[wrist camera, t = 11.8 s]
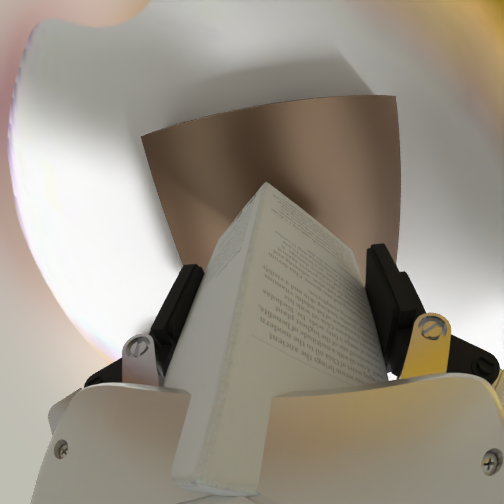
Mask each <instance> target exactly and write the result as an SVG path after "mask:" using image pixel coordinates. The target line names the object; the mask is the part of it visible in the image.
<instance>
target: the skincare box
mask: <svg viewBox="0 0 504 504" xmlns="http://www.w3.org/2000/svg"><path fill="white" fill-rule="evenodd" d="M386 381H389V380H388V376H387V371H386V366H385V361H384V357H383V353H382V349H381V344H380V341H379V337H378V333H377V329H376V325H375V322H374V318H373V314H372V311H371V307H370V304H369V300H368V297H367V294H366V290H365V287H364V284H363V280H362V277H361V274H360V271H359V268H358V265H357V262H356V259H355V256H354V253H353V251H352V249H350V248H349V247H348V246H347V245H346V244H344V243H343V242H342V241H341V240H340V239H338V238H337V237H336V236H335V235H334V234H333V233H331V232H330V231H329V230H328V229H327V228H325V227H324V226H323V225H322V224H320V223H319V222H318V221H317V220H315V219H314V218H313V217H312V216H310V215H309V214H308V213H307V212H305V211H304V210H303V209H302V208H300V207H299V206H298V205H296V204H295V203H294V202H292V201H291V200H290V199H289V198H287V197H286V196H285V195H283V194H282V193H281V192H280V191H278V190H277V189H276V188H274V187H273V186H272V185H270V184H269V183H267V182H265V183H264V184H263V185H262V186H261V188H260V189H259V190H258V191H257V193H256V194H255V195H254V196H253V197H252V199H251V200H250V201H249V202H248V203H247V204H246V206H245V207H244V208H243V209H242V211H241V212H240V213H239V214H238V216H237V217H236V218H235V220H234V221H233V222H232V224H231V225H230V226H229V227H228V229H227V230H226V231H225V232H224V234H223V235H222V236H221V237H220V239H219V240H218V242H217V245H216V247H215V250H214V252H213V254H212V257H211V259H210V261H209V264H208V266H207V268H206V271H205V273H204V276H203V278H202V281H201V283H200V286H199V288H198V291H197V293H196V296H195V299H194V301H193V304H192V306H191V309H190V311H189V314H188V317H187V319H186V322H185V324H184V327H183V329H182V332H181V335H180V338H179V340H178V343H177V346H176V348H175V351H174V354H173V357H172V360H171V362H170V365H169V367H168V370H167V373H166V375H165V378H164V383H163V387H168V388H178V389H184V390H186V391H187V392H189V393H190V394H191V395H192V396H191V400H190V404H189V407H188V411H187V414H186V418H185V422H184V425H183V429H182V433H181V436H180V440H179V444H178V447H177V451H176V455H175V458H174V463H173V467H172V472H171V479H172V480H173V482H174V484H175V485H176V486H178V487H180V488H183V489H187V490H192V491H197V492H203V493H209V494H214V495H220V496H230V497H237V496H244V497H253V496H259V495H261V494H260V493H258V492H257V491H255V490H256V489H257V488H258V483H259V477H260V471H261V465H262V458H263V452H264V445H265V439H266V433H267V427H268V421H269V415H270V407H271V400H272V397H275V396H279V395H282V394H286V393H290V392H293V391H308V390H322V389H333V388H342V387H351V386H359V385H366V384H373V383H380V382H386Z"/></svg>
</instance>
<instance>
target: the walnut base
mask: <svg viewBox="0 0 504 504" xmlns="http://www.w3.org/2000/svg"><path fill="white" fill-rule="evenodd" d="M141 139H142V142H143V146H144V149H145V153H146V156H147V160H148V163H149V166H150V170H151V173H152V176H153V179H154V183H155V186H156V189H157V192H158V195H159V198H160V201H161V204H162V207H163V210H164V213H165V216H166V219H167V222H168V225H169V227H170V230H171V233H172V236H173V239H174V241H175V244H176V247H177V250H178V252H179V255H180V258H181V260H182V263H183V266H184V265H188V264H197V265H198V266H199V267H200V266H201V267H202V269H203V271H204V273H205V271H206V268H207V266H208V264H209V261H210V259H211V257H212V254H213V252H214V250H215V247H216V245H217V242H218V240H219V239H220V237H221V236H222V235H223V234H224V232H225V231H226V230H227V229H228V227H229V226H230V225H231V224H232V222H233V221H234V220H235V218H236V217H237V216H238V214H239V213H240V212H241V211H242V209H243V208H244V207H245V206H246V204H247V203H248V202H249V201H250V200H251V199H252V197H253V196H254V195H255V194H256V193H257V191H258V190H259V189H260V188H261V186H262V185H263V184H264V183H265V182H267V183H269V184H270V185H272V186H273V187H274V188H276V189H277V190H278V191H280V192H281V193H282V194H283V195H285V196H286V197H287V198H289V199H290V200H291V201H292V202H294V203H295V204H296V205H298V206H299V207H300V208H302V209H303V210H304V211H305V212H307V213H308V214H309V215H310V216H312V217H313V218H314V219H315V220H317V221H318V222H319V223H320V224H322V225H323V226H324V227H325V228H327V229H328V230H329V231H330V232H331V233H333V234H334V235H335V236H336V237H337V238H338V239H340V240H341V241H342V242H343V243H344V244H346V245H347V246H348V247H349V248H350V249H352V251H353V253H354V256H355V259H356V262H357V265H358V268H359V271H360V274H361V277H362V280H363V284H364V287H365V279H366V252H367V248H371V245H372V244H380V243H384V244H385V245H386V247H387V249H388V251H389V253H390V255H391V256H392V258H393V260H394V262H395V264H396V259H397V249H398V237H399V222H400V197H401V165H400V140H399V126H398V115H397V105H396V97H395V96H387V95H355V96H335V97H322V98H311V99H302V100H293V101H285V102H278V103H272V104H265V105H259V106H254V107H248V108H243V109H238V110H233V111H228V112H224V113H219V114H215V115H211V116H207V117H203V118H199V119H195V120H191V121H187V122H184V123H180V124H177V125H173V126H170V127H167V128H164V129H161V130H158V131H155V132H152V133H149V134H147V135H144V136H141Z"/></svg>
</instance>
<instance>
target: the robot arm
mask: <svg viewBox="0 0 504 504" xmlns="http://www.w3.org/2000/svg"><path fill="white" fill-rule="evenodd" d="M203 276H204V271H203V269H202V267H201V266H200V267H199V266H198V265H197V264H188V265H184V266H183V268H182V269H181V271H180V273H179V275H178V277H177V279H176V281H175V282H174V284H173V286H172V288H171V290H170V292H169V294H168V296H167V298H166V299H165V301H164V303H163V305H162V307H161V309H160V311H159V313H158V315H157V317H156V319H155V321H154V323H153V325H152V327H151V331H150V333H149V335H148V334H138V335H135V336H133V337H132V338H130V339H129V340H128V341H127V342H126V343H125V345H124V347H123V351H122V358H120V359H119V360H117V361H115V362H114V363H112V364H110V365H108V366H107V367H105V368H103V369H101V370H100V371H98V372H96V373H95V374H93V375H92V376H90V377H89V378H88V379H87V381H86V383H85V386H84V388H83V389H82V388H80V389H78V390H77V391H75V392H73V393H72V394H70V395H69V396H67V397H66V398H64V399H63V400H61V401H59V402H58V403H56V404H55V405H54V406H52V408H51V409H50V411H49V414H48V419H49V424H50V427H51V431H52V435H53V436H52V439H51V441H50V444H49V446H48V449H47V452H46V454H45V457H44V460H43V462H42V465H41V468H40V471H39V474H38V478H37V481H36V485H35V488H34V492H33V496H32V500H31V504H504V369H503V370H502V369H500V366H499V363H498V360H497V359H496V358H495V356H494V355H492V354H491V353H489V352H487V351H485V350H483V349H481V348H479V347H477V346H474V345H472V344H470V343H468V342H466V341H464V340H462V339H460V338H458V337H456V336H453V335H451V326H450V324H449V321H448V320H447V319H446V318H445V317H443V316H442V315H440V314H436V313H426V312H425V309H424V307H423V305H422V303H421V301H420V299H419V297H418V294H417V292H416V290H415V288H414V286H413V284H412V282H411V280H410V278H409V276H408V275H407V273H406V272H399V270H398V268H397V266H396V264H395V262H394V260H393V258H392V256H391V255H390V253H389V251H388V249H387V247H386V245H385V244H384V243H380V244H372V245H371V248H367V252H366V279H365V290H366V294H367V297H368V300H369V304H370V307H371V311H372V314H373V318H374V322H375V325H376V329H377V333H378V337H379V341H380V344H381V349H382V353H383V357H384V361H385V366H386V371H387V373H388V372H392V374H394V375H396V376H397V378H396V380H392V381H386V382H380V383H373V384H366V385H359V386H351V387H342V388H333V389H322V390H308V391H293V392H290V393H286V394H282V395H279V396H275V397H272V400H271V407H270V415H269V421H268V427H267V433H266V439H265V445H264V452H263V458H262V465H261V471H260V477H259V483H258V488H257V489H256V490H255V491H257V492H258V493H260V494H261V495H259V496H253V497H244V496H237V497H230V496H220V495H214V494H209V493H203V492H197V491H192V490H187V489H183V488H180V487H178V486H176V485H175V484H174V482H173V480H172V479H171V472H172V467H173V463H174V458H175V455H176V451H177V447H178V444H179V440H180V436H181V433H182V429H183V425H184V422H185V418H186V414H187V411H188V407H189V404H190V400H191V396H192V395H191V394H190V393H189V392H187V391H186V390H184V389H178V388H168V387H163V383H164V378H165V375H166V373H167V370H168V367H169V365H170V362H171V360H172V357H173V354H174V351H175V348H176V346H177V343H178V340H179V338H180V335H181V332H182V329H183V327H184V324H185V322H186V319H187V317H188V314H189V311H190V309H191V306H192V304H193V301H194V299H195V296H196V293H197V291H198V288H199V286H200V283H201V281H202V278H203Z"/></svg>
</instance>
